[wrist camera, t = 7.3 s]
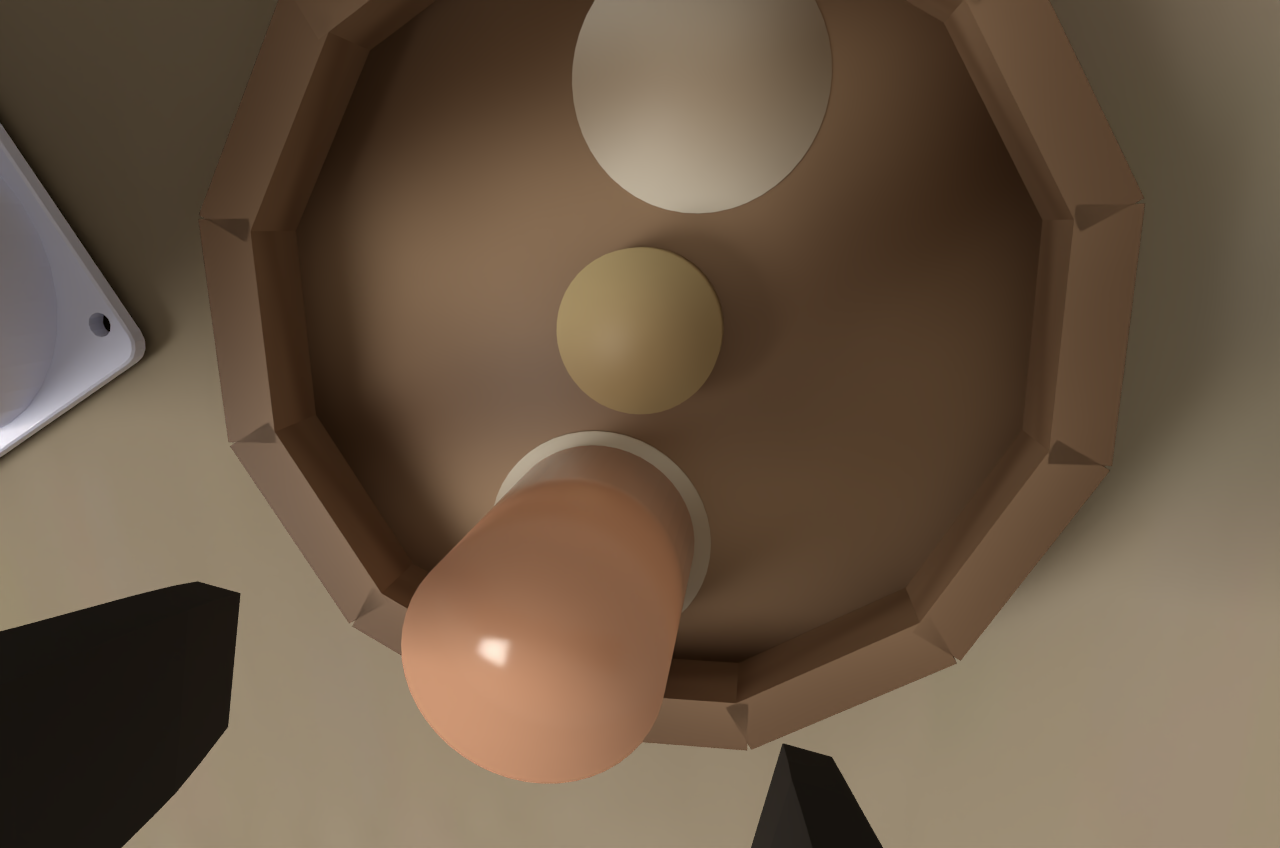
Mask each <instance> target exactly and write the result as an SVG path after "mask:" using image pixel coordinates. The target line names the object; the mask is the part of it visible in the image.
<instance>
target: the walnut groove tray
mask: <svg viewBox="0 0 1280 848" xmlns="http://www.w3.org/2000/svg"><path fill="white" fill-rule="evenodd" d="M1143 198H1144V197H1143V194H1142V192H1141V190H1140V188H1139V186H1138V184H1137V182H1136V180H1135V178H1134V176H1133V174H1132V172H1131V169H1130V167H1129V165H1128V163H1127V161H1126V159H1125V157H1124V155H1123V153H1122V151H1121V149H1120V147H1119V144H1118V142H1117V140H1116V138H1115V136H1114V134H1113V132H1112V130H1111V128H1110V126H1109V124H1108V122H1107V119H1106V117H1105V115H1104V113H1103V111H1102V109H1101V107H1100V105H1099V103H1098V101H1097V99H1096V97H1095V94H1094V92H1093V90H1092V88H1091V86H1090V84H1089V82H1088V80H1087V78H1086V76H1085V74H1084V72H1083V69H1082V67H1081V65H1080V63H1079V61H1078V59H1077V57H1076V55H1075V53H1074V51H1073V49H1072V47H1071V44H1070V42H1069V40H1068V38H1067V36H1066V34H1065V32H1064V30H1063V28H1062V26H1061V24H1060V22H1059V19H1058V17H1057V15H1056V13H1055V11H1054V9H1053V7H1052V5H1051V3H1050V1H1049V0H278V3H277V6H276V8H275V11H274V14H273V16H272V19H271V22H270V24H269V27H268V30H267V33H266V35H265V38H264V41H263V43H262V46H261V49H260V51H259V54H258V57H257V59H256V62H255V65H254V68H253V70H252V73H251V76H250V78H249V81H248V84H247V86H246V89H245V92H244V94H243V97H242V100H241V103H240V105H239V108H238V111H237V113H236V116H235V119H234V121H233V124H232V127H231V130H230V132H229V135H228V138H227V140H226V143H225V146H224V148H223V151H222V154H221V156H220V159H219V162H218V165H217V167H216V170H215V173H214V175H213V178H212V181H211V183H210V186H209V189H208V192H207V194H206V197H205V200H204V202H203V205H202V208H201V210H200V213H199V215H200V216H202V217H204V218H205V219H198V220H199V227H200V235H201V242H202V250H203V257H204V264H205V272H206V279H207V287H208V294H209V301H210V309H211V316H212V324H213V331H214V338H215V346H216V353H217V361H218V368H219V376H220V383H221V390H222V398H223V405H224V413H225V420H226V427H227V435H228V442H236V443H234V444H233V445H231V446H230V447H231V448H232V450H233V451H234V453H235V454H236V456H237V457H238V459H239V460H240V462H241V463H242V465H243V466H244V468H245V469H246V471H247V472H248V474H249V475H250V477H251V478H252V480H253V481H254V483H255V484H256V486H257V487H258V488H259V490H260V491H261V493H262V494H263V496H264V497H265V499H266V500H267V502H268V503H269V505H270V506H271V508H272V509H273V511H274V512H275V514H276V515H277V517H278V518H279V520H280V521H281V523H282V524H283V526H284V527H285V529H286V530H287V532H288V533H289V535H290V536H291V538H292V539H293V541H294V542H295V544H296V545H297V547H298V548H299V550H300V551H301V552H302V554H303V555H304V557H305V558H306V560H307V561H308V563H309V564H310V566H311V567H312V569H313V570H314V572H315V573H316V575H317V576H318V578H319V579H320V581H321V582H322V584H323V585H324V587H325V588H326V590H327V591H328V593H329V594H330V596H331V597H332V599H333V600H334V602H335V603H336V605H337V606H338V608H339V609H340V611H341V612H342V614H343V615H344V616H345V618H346V619H347V621H348V622H349V623H351V622H353V621H355V622H354V624H353V627H354V628H356V629H358V630H359V631H361V632H363V633H364V634H366V635H368V636H370V637H371V638H373V639H375V640H376V641H378V642H380V643H381V644H383V645H385V646H386V647H388V648H390V649H392V650H393V651H395V652H397V653H398V654H400V655H402V651H401V639H402V628H403V624H404V619H405V615H406V612H407V609H408V607H409V604H410V601H411V599H412V597H413V595H414V594H415V592H416V590H417V588H418V587H419V585H420V584H421V583H422V581H423V580H424V579H425V577H426V576H427V575H428V574H429V573H430V571H431V570H432V569H433V568H434V567H435V566H436V565H437V564H438V563H439V562H440V561H441V560H442V559H443V558H444V557H445V556H446V555H447V554H448V553H449V552H450V551H451V550H452V549H453V548H454V547H455V546H456V545H457V544H458V543H459V542H460V541H461V540H462V539H463V537H464V536H465V535H466V534H467V533H468V532H469V531H470V530H471V529H472V528H473V527H474V526H475V525H476V524H477V523H478V522H479V521H480V520H481V519H482V518H483V517H484V516H485V515H486V514H487V513H488V512H489V511H490V510H491V509H492V508H493V507H494V506H495V505H496V503H497V502H498V501H499V500H500V499H501V498H502V497H503V496H504V495H505V494H506V493H507V492H508V491H509V490H510V489H511V488H512V487H513V486H514V485H515V484H516V483H517V482H518V481H519V480H520V479H521V478H522V477H523V476H524V475H525V474H526V473H527V472H528V471H529V470H530V469H531V468H532V467H533V466H534V465H536V464H537V463H538V462H540V461H541V460H543V459H544V458H546V457H548V456H550V455H552V454H554V453H556V452H559V451H562V450H564V449H568V448H572V447H577V446H588V445H596V446H607V447H613V448H618V449H621V450H624V451H627V452H630V453H632V454H634V455H637V456H639V457H641V458H643V459H644V460H646V461H647V462H649V463H651V464H652V465H654V466H655V467H656V468H657V469H659V470H660V471H661V472H662V473H663V474H664V475H665V476H666V477H667V478H668V479H669V480H670V481H671V482H672V483H673V485H674V486H675V487H676V489H677V490H678V491H679V493H680V495H681V496H682V498H683V500H684V502H685V504H686V506H687V509H688V511H689V514H690V516H691V521H692V525H693V530H694V539H695V542H694V556H693V562H692V567H691V571H690V576H689V581H688V585H687V590H686V595H685V599H684V604H683V609H682V613H681V618H680V623H679V627H678V632H677V637H676V641H675V646H674V651H673V655H672V660H671V665H670V669H669V674H668V679H667V683H666V688H665V693H664V698H663V702H662V705H661V708H660V711H659V714H658V717H657V718H656V720H655V722H654V724H653V726H652V728H651V730H650V732H649V733H648V734H647V736H646V737H645V739H644V740H643V741H642V742H648V743H660V744H673V745H686V746H698V747H711V748H724V749H736V750H747V743H748V745H749V747H750V748H751V750H752V749H754V748H757V747H759V746H761V745H764V744H766V743H768V742H771V741H773V740H776V739H778V738H780V737H783V736H785V735H787V734H790V733H792V732H795V731H797V730H799V729H802V728H804V727H807V726H809V725H811V724H814V723H816V722H818V721H821V720H823V719H826V718H828V717H830V716H833V715H835V714H837V713H840V712H842V711H845V710H847V709H849V708H852V707H854V706H857V705H859V704H861V703H864V702H866V701H868V700H871V699H873V698H876V697H878V696H880V695H883V694H885V693H887V692H890V691H892V690H895V689H897V688H899V687H902V686H904V685H907V684H909V683H911V682H914V681H916V680H918V679H921V678H923V677H926V676H928V675H930V674H933V673H935V672H937V671H940V670H942V669H945V668H947V667H949V666H952V665H954V664H957V663H956V660H955V658H957V659H959V660H960V661H961V659H962V658H963V657H964V656H965V654H966V653H967V652H968V650H969V649H970V648H971V647H972V645H973V644H974V643H975V642H976V640H977V639H978V638H979V636H980V635H981V634H982V633H983V631H984V630H985V629H986V628H987V626H988V625H989V624H990V622H991V621H992V620H993V619H994V617H995V616H996V615H997V614H998V612H999V611H1000V610H1001V608H1002V607H1003V606H1004V605H1005V603H1006V602H1007V601H1008V600H1009V598H1010V597H1011V596H1012V594H1013V593H1014V592H1015V591H1016V589H1017V588H1018V587H1019V586H1020V584H1021V583H1022V582H1023V580H1024V579H1025V578H1026V577H1027V575H1028V574H1029V573H1030V572H1031V570H1032V569H1033V568H1034V566H1035V565H1036V564H1037V563H1038V561H1039V560H1040V559H1041V558H1042V556H1043V555H1044V554H1045V552H1046V551H1047V550H1048V549H1049V547H1050V546H1051V545H1052V544H1053V542H1054V541H1055V540H1056V538H1057V537H1058V536H1059V535H1060V533H1061V532H1062V531H1063V530H1064V528H1065V527H1066V526H1067V524H1068V523H1069V522H1070V521H1071V519H1072V518H1073V517H1074V516H1075V514H1076V513H1077V512H1078V510H1079V509H1080V508H1081V507H1082V505H1083V504H1084V503H1085V502H1086V500H1087V499H1088V498H1089V496H1090V495H1091V494H1092V493H1093V491H1094V490H1095V489H1096V488H1097V486H1098V485H1099V484H1100V482H1101V481H1102V480H1103V479H1104V477H1105V476H1106V475H1107V474H1108V472H1109V471H1110V470H1109V469H1107V468H1106V467H1104V466H1112V461H1113V453H1114V446H1115V438H1116V430H1117V422H1118V414H1119V406H1120V398H1121V390H1122V382H1123V374H1124V366H1125V358H1126V351H1127V343H1128V335H1129V327H1130V319H1131V311H1132V303H1133V295H1134V287H1135V279H1136V271H1137V263H1138V256H1139V248H1140V240H1141V232H1142V224H1143V216H1144V208H1145V204H1134V203H1136V202H1138V201H1140V200H1142V199H1143ZM954 657H955V658H954Z"/></svg>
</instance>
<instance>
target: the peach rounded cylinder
mask: <svg viewBox="0 0 1280 848" xmlns="http://www.w3.org/2000/svg"><path fill="white" fill-rule="evenodd" d="M694 542H695V539H694V530H693V525H692V521H691V516H690V514H689V511H688V509H687V506H686V504H685V502H684V500H683V498H682V496H681V495H680V493H679V491H678V490H677V489H676V487H675V486H674V485H673V483H672V482H671V481H670V480H669V479H668V478H667V477H666V476H665V475H664V474H663V473H662V472H661V471H660V470H659V469H657V468H656V467H655V466H654V465H652V464H651V463H649V462H647V461H646V460H644V459H643V458H641V457H639V456H637V455H634V454H632V453H630V452H627V451H624V450H621V449H618V448H613V447H607V446H596V445H588V446H577V447H572V448H568V449H564V450H562V451H559V452H556V453H554V454H552V455H550V456H548V457H546V458H544V459H543V460H541V461H540V462H538V463H537V464H536V465H534V466H533V467H532V468H531V469H530V470H529V471H528V472H527V473H526V474H525V475H524V476H523V477H522V478H521V479H520V480H519V481H518V482H517V483H516V484H515V485H514V486H513V487H512V488H511V489H510V490H509V491H508V492H507V493H506V494H505V495H504V496H503V497H502V498H501V499H500V500H499V501H498V502H497V503H496V505H495V506H494V507H493V508H492V509H491V510H490V511H489V512H488V513H487V514H486V515H485V516H484V517H483V518H482V519H481V520H480V521H479V522H478V523H477V524H476V525H475V526H474V527H473V528H472V529H471V530H470V531H469V532H468V533H467V534H466V535H465V536H464V537H463V539H462V540H461V541H460V542H459V543H458V544H457V545H456V546H455V547H454V548H453V549H452V550H451V551H450V552H449V553H448V554H447V555H446V556H445V557H444V558H443V559H442V560H441V561H440V562H439V563H438V564H437V565H436V566H435V567H434V568H433V569H432V570H431V571H430V573H429V574H428V575H427V576H426V577H425V579H424V580H423V581H422V583H421V584H420V585H419V587H418V588H417V590H416V592H415V594H414V595H413V597H412V599H411V601H410V604H409V607H408V609H407V612H406V615H405V619H404V624H403V628H402V639H401V651H402V663H403V668H404V673H405V677H406V680H407V683H408V686H409V689H410V692H411V694H412V696H413V698H414V700H415V702H416V705H417V707H418V708H419V710H420V711H421V713H422V714H423V716H424V718H425V719H426V721H427V722H428V723H429V724H430V726H431V727H432V728H433V729H434V731H435V732H436V733H437V734H438V735H439V736H440V737H441V738H442V739H443V740H444V741H445V742H446V743H447V744H448V745H449V746H451V747H452V748H453V749H454V750H456V751H457V752H458V753H459V754H461V755H462V756H464V757H465V758H467V759H468V760H470V761H472V762H473V763H475V764H476V765H478V766H480V767H483V768H485V769H487V770H489V771H491V772H493V773H496V774H499V775H502V776H505V777H507V778H512V779H516V780H520V781H525V782H534V783H564V782H572V781H577V780H581V779H585V778H589V777H591V776H594V775H596V774H599V773H601V772H604V771H606V770H608V769H609V768H611V767H613V766H615V765H616V764H618V763H620V762H621V761H622V760H623V759H625V758H626V757H627V756H629V755H630V754H631V753H632V752H633V751H634V750H635V749H636V748H637V747H638V746H639V745H640V744H641V743H642V741H643V740H644V739H645V737H646V736H647V734H648V733H649V732H650V730H651V728H652V726H653V724H654V722H655V720H656V718H657V717H658V714H659V711H660V708H661V705H662V702H663V698H664V693H665V688H666V683H667V679H668V674H669V669H670V665H671V660H672V655H673V651H674V646H675V641H676V637H677V632H678V627H679V623H680V618H681V613H682V609H683V604H684V599H685V595H686V590H687V585H688V581H689V576H690V571H691V567H692V562H693V556H694Z"/></svg>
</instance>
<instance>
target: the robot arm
mask: <svg viewBox="0 0 1280 848" xmlns="http://www.w3.org/2000/svg"><path fill="white" fill-rule="evenodd" d="M104 315H105V316H106V317H107V318H108V319H109V322H110V324H111V327H110V332H108V331H107V330H106V329H105V327H104V324H103V316H104ZM144 352H145V339H144V337H143V335H142V333H141V331H140V329H139V328H138V326H137V325H136V323H135V322H134V320H133V319H132V317H131V316H130V315H129V313H128V312H127V310H126V309H125V307H124V306H123V304H122V303H121V301H120V300H119V298H118V297H117V295H116V294H115V292H114V291H113V289H112V288H111V286H110V285H109V283H108V282H107V280H106V279H105V277H104V276H103V274H102V273H101V271H100V270H99V269H98V267H97V266H96V264H95V263H94V261H93V260H92V258H91V257H90V255H89V254H88V252H87V251H86V249H85V248H84V246H83V245H82V243H81V242H80V240H79V239H78V237H77V236H76V234H75V233H74V231H73V230H72V228H71V227H70V225H69V224H68V223H67V221H66V220H65V218H64V217H63V215H62V214H61V212H60V211H59V209H58V208H57V206H56V205H55V203H54V202H53V200H52V199H51V197H50V196H49V194H48V193H47V191H46V190H45V188H44V187H43V185H42V184H41V182H40V181H39V180H38V178H37V177H36V175H35V174H34V172H33V171H32V169H31V168H30V166H29V165H28V163H27V162H26V160H25V159H24V157H23V156H22V154H21V153H20V151H19V150H18V148H17V147H16V145H15V144H14V142H13V141H12V139H11V138H10V136H9V135H8V134H7V132H6V131H5V129H4V128H3V126H2V125H1V123H0V457H2V456H3V455H5V454H6V453H7V452H9V451H10V450H12V449H13V448H15V447H16V446H18V445H19V444H20V443H22V442H23V441H25V440H26V439H28V438H29V437H30V436H32V435H33V434H35V433H36V432H38V431H39V430H41V429H42V428H43V427H45V426H46V425H48V424H49V423H51V422H52V421H54V420H55V419H56V418H58V417H59V416H61V415H62V414H64V413H65V412H67V411H68V410H69V409H71V408H72V407H74V406H75V405H77V404H78V403H79V402H81V401H82V400H84V399H85V398H87V397H88V396H90V395H91V394H92V393H94V392H95V391H97V390H98V389H100V388H101V387H103V386H104V385H105V384H107V383H108V382H110V381H111V380H113V379H114V378H116V377H117V376H118V375H120V374H121V373H123V372H124V371H126V370H127V369H128V368H130V367H131V366H133V365H134V364H136V363H137V362H138V361H139V360H140V359H141V358H142V357H143V355H144ZM239 603H240V593H237V592H234V591H230V590H227V589H223V588H219V587H216V586H212V585H208V584H205V583H201V582H192V583H186V584H181V585H176V586H171V587H167V588H163V589H158V590H154V591H150V592H146V593H142V594H138V595H134V596H131V597H127V598H123V599H119V600H116V601H112V602H108V603H105V604H101V605H97V606H94V607H90V608H86V609H83V610H79V611H75V612H71V613H68V614H64V615H60V616H57V617H53V618H49V619H45V620H42V621H38V622H34V623H31V624H27V625H23V626H20V627H16V628H12V629H8V630H4V631H0V848H122V847H123V846H124V845H125V844H126V843H127V842H128V841H129V840H130V839H131V838H132V837H133V836H134V835H135V834H136V833H137V832H138V831H139V830H140V829H141V828H142V827H143V826H144V825H145V824H146V823H147V822H148V821H149V820H150V819H151V818H152V817H153V816H154V815H155V814H156V813H157V812H158V811H159V810H160V809H161V808H162V807H163V806H164V805H165V804H166V802H167V801H168V800H169V799H170V798H171V797H172V796H173V795H174V794H175V793H176V792H177V791H178V789H179V788H180V787H181V786H182V785H183V783H184V782H185V781H186V780H187V779H188V777H189V776H190V775H191V774H192V772H193V771H194V770H195V769H196V768H197V766H198V765H199V764H200V763H201V761H202V760H203V759H204V757H205V756H206V755H207V754H208V752H209V751H210V750H211V748H212V747H213V746H214V744H215V743H216V742H217V741H218V739H219V738H220V737H221V735H222V734H223V733H224V731H225V730H226V729H227V727H228V722H229V711H230V700H231V689H232V678H233V667H234V657H235V646H236V635H237V624H238V613H239ZM751 848H883V847H882V845H881V843H880V842H879V840H878V838H877V836H876V835H875V833H874V831H873V829H872V828H871V826H870V824H869V822H868V820H867V819H866V817H865V815H864V813H863V812H862V810H861V808H860V806H859V804H858V803H857V801H856V799H855V797H854V795H853V794H852V792H851V790H850V788H849V786H848V785H847V783H846V781H845V779H844V777H843V776H842V774H841V772H840V770H839V769H838V767H837V765H836V763H835V762H834V760H833V758H832V757H830V756H826V755H823V754H819V753H816V752H812V751H808V750H805V749H801V748H797V747H794V746H790V745H787V744H782V747H781V751H780V754H779V757H778V761H777V764H776V767H775V771H774V774H773V777H772V780H771V784H770V787H769V790H768V794H767V797H766V800H765V804H764V807H763V810H762V813H761V817H760V820H759V823H758V827H757V830H756V833H755V836H754V840H753V843H752V846H751Z"/></svg>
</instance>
